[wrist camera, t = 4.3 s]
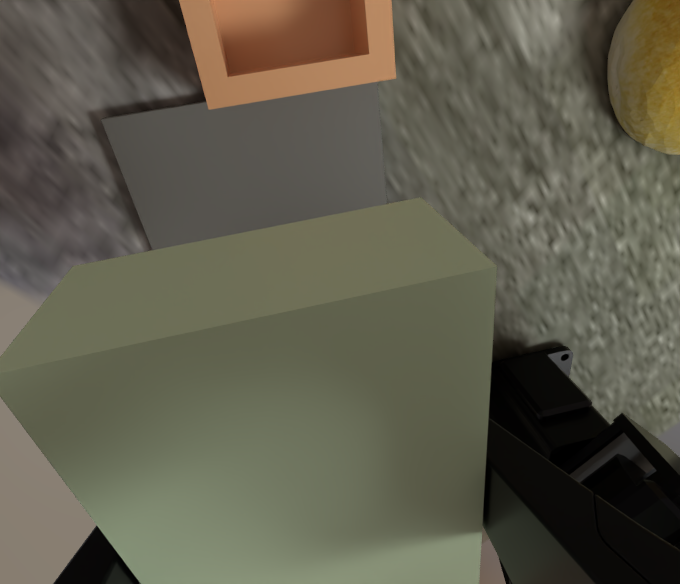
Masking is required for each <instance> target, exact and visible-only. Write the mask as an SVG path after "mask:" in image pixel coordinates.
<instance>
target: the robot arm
mask: <svg viewBox="0 0 680 584" xmlns="http://www.w3.org/2000/svg"><path fill="white" fill-rule="evenodd" d="M572 358H573V352H572V351H571V350H570V349H569V348H568V347H566V346H561V347H557V348H553V349H548V350H544V351H539V352H535V353H531V354H526V355H522V356H517V357H513V358H509V359H504V360H500V361H496V362H492V365H491V382H490V400H489V417H488V435H487V453H486V470H485V488H484V505H483V523H482V525H483V527H484V529H485V531H486V533H487V535H488V537H489V539H490V541H491V542H492V544H493V546H494V548H495V550H496V552H497V554H498V556H499V560H500V564H501V567H502V571H503V574H504V578H505V581H506V584H680V457H678V455H677V454H675V453H674V452H673V451H672V450H671V449H670V448H669V447H668V446H667V445H666V444H664V443H663V442H662V441H660V440H659V439H658V438H656V437H655V436H653V435H652V434H651V433H649V432H648V431H647V430H645V429H644V428H643V427H641V426H640V425H638V424H637V423H636V422H634V421H633V420H632V419H630V418H629V417H628V416H626V415H625V414H623V413H621V414H620V415H619V416H618V417H616V418H615V419H614V420H613V421H614V423H612V424H611V425H610V424H609V423H608V422H607V421H606V420H605V419H604V418H603V416H602V415H601V414H600V413H599V412H598V411H597V410H596V409H595V408H594V407H593V406H592V402H591V400H590V399H589V398H588V397H587V396H586V395H585V394H584V393H583V392H582V391H581V390H580V389H579V387H578V386H577V385H576V384H575V383H574V382H573V381H572V380H571V379H570V378H569V374H570V369H571V364H572ZM53 584H141V583H140V582H139V581H138V579H137V578H136V577H135V575H134V574H133V573H132V571H131V570H130V569H129V567H128V566H127V565H126V563H125V562H124V561H123V559H122V558H121V557H120V555H119V554H118V553H117V551H116V550H115V549H114V547H113V546H112V545H111V543H110V542H109V541H108V539H107V538H106V537H105V535H104V534H103V533H102V531H101V530H100V529H99V527H98V526H96V527H95V528H94V530H93V531H92V533H91V534H90V535H89V536H88V538H87V539H86V540H85V542H84V543H83V544H82V546H81V547H80V548H79V550H78V551H77V553H76V554H75V555H74V557H73V558H72V559H71V560H70V562H69V563H68V564H67V566H66V567H65V569H64V570H63V571H62V573H61V574H60V575H59V577H58V578H57V579H56V581H55V582H54V583H53Z"/></svg>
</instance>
